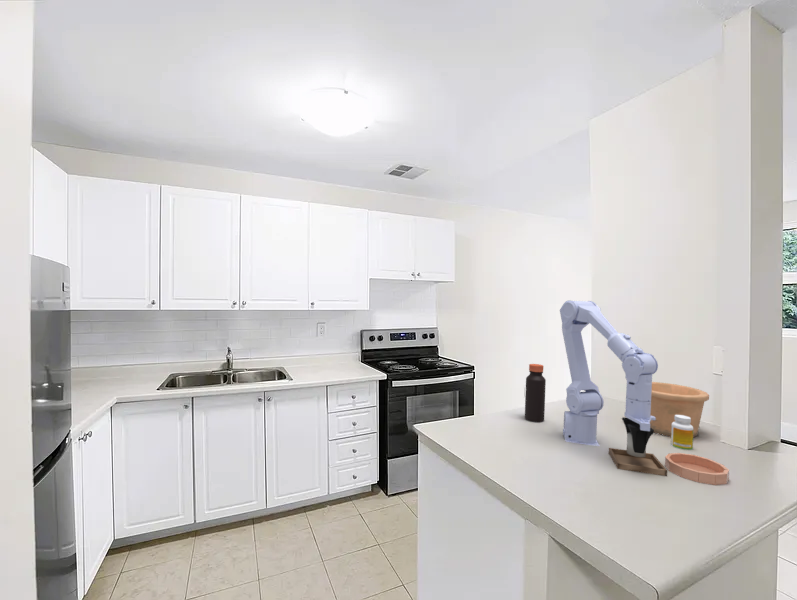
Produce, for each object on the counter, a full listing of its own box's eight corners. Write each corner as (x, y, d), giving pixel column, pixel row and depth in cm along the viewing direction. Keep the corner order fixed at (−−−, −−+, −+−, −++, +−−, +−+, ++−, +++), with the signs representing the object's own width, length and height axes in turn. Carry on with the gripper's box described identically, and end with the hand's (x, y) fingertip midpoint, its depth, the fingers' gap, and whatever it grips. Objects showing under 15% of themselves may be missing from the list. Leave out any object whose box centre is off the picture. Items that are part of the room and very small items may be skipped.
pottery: (635, 415, 149) (636, 378, 149) (707, 429, 135) (709, 388, 135) (625, 429, 133) (627, 388, 132) (707, 446, 119) (708, 400, 119)
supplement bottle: (696, 452, 113) (697, 420, 113) (676, 450, 115) (677, 418, 114) (686, 446, 119) (687, 414, 119) (667, 444, 120) (668, 413, 120)
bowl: (676, 481, 95) (676, 469, 95) (659, 460, 107) (659, 450, 107) (738, 490, 91) (739, 478, 91) (713, 468, 103) (714, 457, 103)
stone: (628, 455, 102) (629, 437, 101) (624, 449, 106) (625, 431, 106) (647, 458, 100) (648, 439, 100) (643, 452, 104) (643, 433, 104)
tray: (617, 470, 99) (617, 463, 99) (608, 454, 110) (608, 447, 110) (666, 478, 96) (667, 470, 96) (652, 461, 106) (653, 453, 106)
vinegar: (546, 419, 141) (547, 364, 141) (542, 423, 136) (544, 367, 135) (527, 415, 145) (529, 362, 145) (522, 420, 139) (524, 365, 139)
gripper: (665, 407, 95) (662, 462, 95) (647, 393, 108) (645, 441, 109) (632, 404, 97) (630, 457, 97) (619, 391, 111) (617, 437, 111)
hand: (636, 449), depth 103 cm, fingers closed on stone, 4 cm apart
